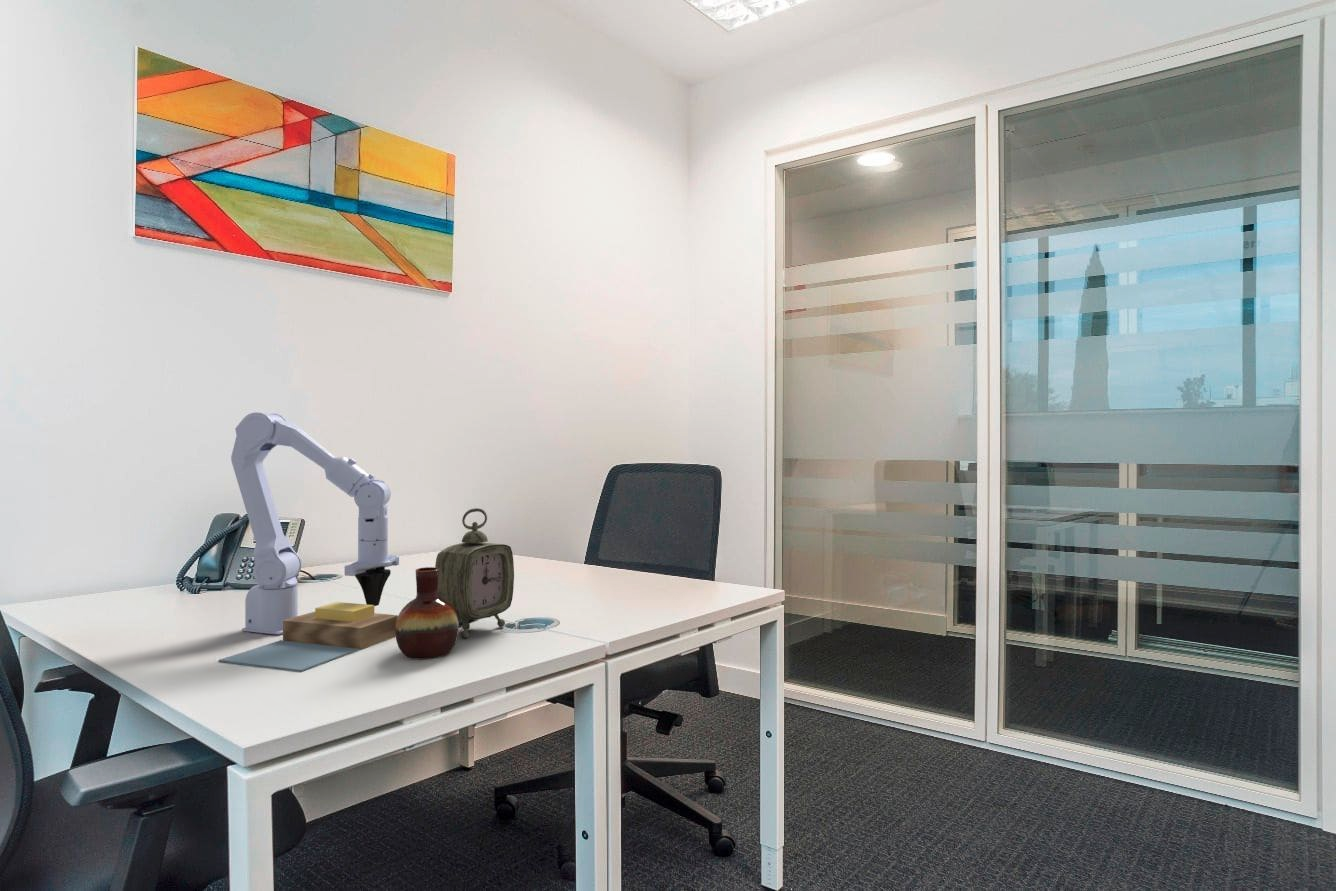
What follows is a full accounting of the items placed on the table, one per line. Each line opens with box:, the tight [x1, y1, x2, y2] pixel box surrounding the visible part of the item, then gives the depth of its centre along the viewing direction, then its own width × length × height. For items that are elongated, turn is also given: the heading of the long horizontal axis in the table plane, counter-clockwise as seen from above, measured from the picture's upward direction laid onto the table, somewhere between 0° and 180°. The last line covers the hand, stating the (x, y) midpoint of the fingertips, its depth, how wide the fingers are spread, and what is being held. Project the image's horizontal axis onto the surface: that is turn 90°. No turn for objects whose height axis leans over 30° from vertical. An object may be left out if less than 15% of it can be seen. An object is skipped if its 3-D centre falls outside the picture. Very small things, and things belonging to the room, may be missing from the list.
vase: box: [395, 566, 460, 660], centre depth 144 cm, size 11×11×15 cm
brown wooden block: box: [282, 610, 399, 651], centre depth 154 cm, size 18×11×4 cm, turn 72°
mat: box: [218, 639, 360, 673], centre depth 142 cm, size 18×14×1 cm
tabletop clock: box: [434, 507, 515, 639], centre depth 160 cm, size 14×9×25 cm, turn 151°
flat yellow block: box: [314, 601, 375, 622], centre depth 155 cm, size 9×6×2 cm, turn 72°
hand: (372, 605), depth 163 cm, fingers closed
